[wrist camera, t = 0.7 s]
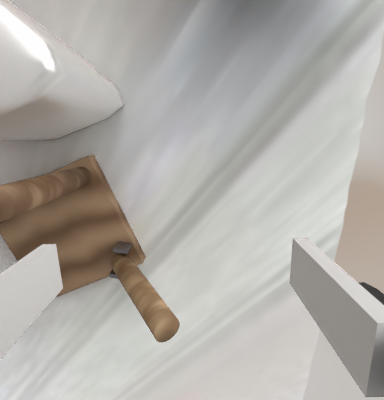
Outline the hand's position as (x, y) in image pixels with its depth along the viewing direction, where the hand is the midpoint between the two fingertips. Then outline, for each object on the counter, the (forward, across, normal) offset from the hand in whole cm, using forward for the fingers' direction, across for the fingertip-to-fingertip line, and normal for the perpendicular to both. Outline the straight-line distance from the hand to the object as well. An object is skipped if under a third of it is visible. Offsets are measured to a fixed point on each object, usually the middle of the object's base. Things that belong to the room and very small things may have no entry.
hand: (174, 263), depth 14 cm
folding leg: (+26, -12, -13) cm, 31 cm away
